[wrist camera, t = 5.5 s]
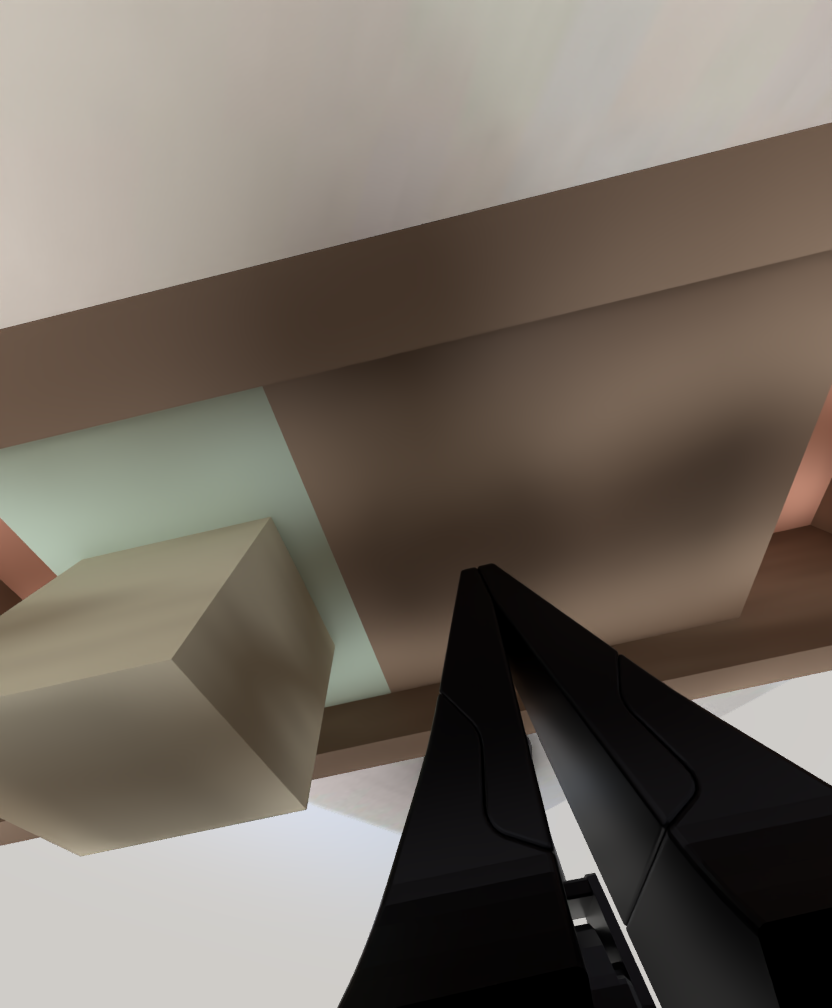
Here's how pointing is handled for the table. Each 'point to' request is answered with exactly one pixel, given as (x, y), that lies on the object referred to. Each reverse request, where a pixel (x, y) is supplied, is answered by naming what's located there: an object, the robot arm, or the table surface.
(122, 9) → the table surface
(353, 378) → the tray
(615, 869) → the robot arm
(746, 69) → the table surface
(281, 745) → the maple block
